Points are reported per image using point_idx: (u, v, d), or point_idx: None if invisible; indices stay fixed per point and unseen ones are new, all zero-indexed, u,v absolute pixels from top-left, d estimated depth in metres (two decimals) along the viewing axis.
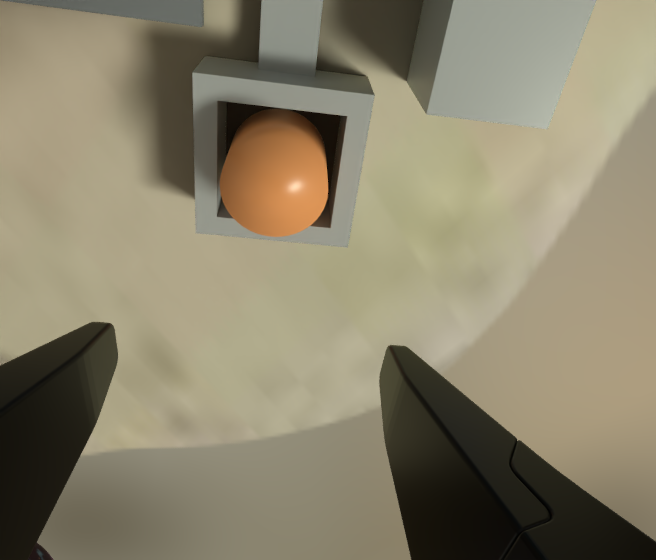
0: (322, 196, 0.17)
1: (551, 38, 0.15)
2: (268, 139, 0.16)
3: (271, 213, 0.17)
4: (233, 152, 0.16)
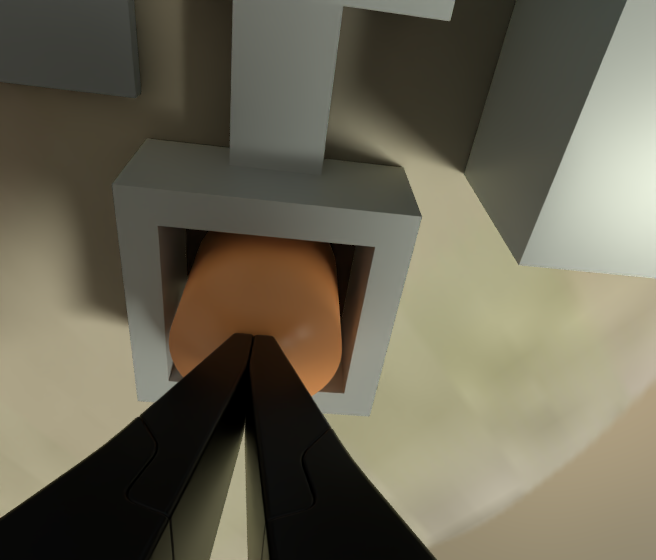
0: (332, 358, 0.11)
1: None
2: (245, 285, 0.10)
3: None
4: (188, 302, 0.10)
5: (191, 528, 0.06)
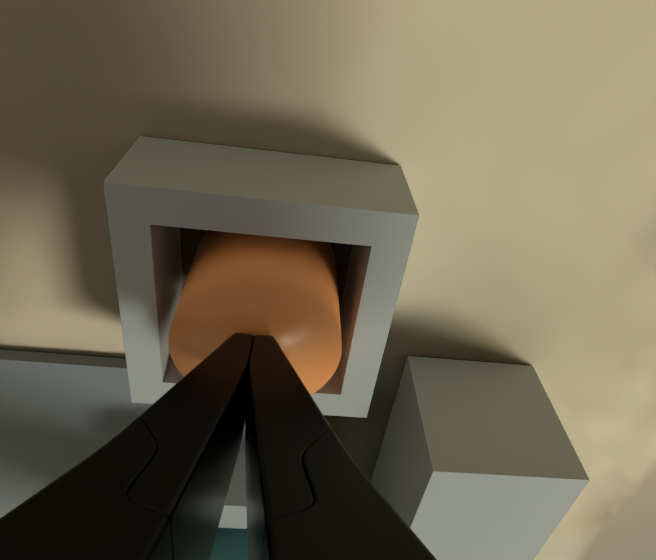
0: None
1: None
2: None
3: None
4: None
5: (191, 528, 0.06)
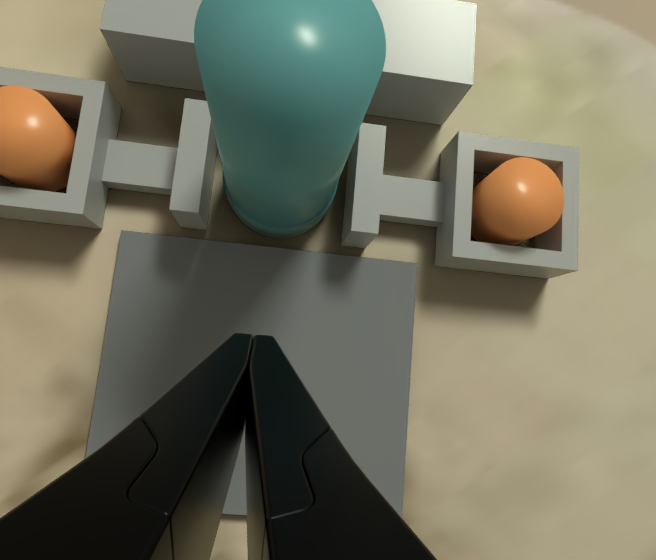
0: (528, 161, 0.23)
1: (420, 12, 0.23)
2: (490, 197, 0.23)
3: (545, 198, 0.23)
4: (501, 222, 0.23)
5: (191, 528, 0.06)
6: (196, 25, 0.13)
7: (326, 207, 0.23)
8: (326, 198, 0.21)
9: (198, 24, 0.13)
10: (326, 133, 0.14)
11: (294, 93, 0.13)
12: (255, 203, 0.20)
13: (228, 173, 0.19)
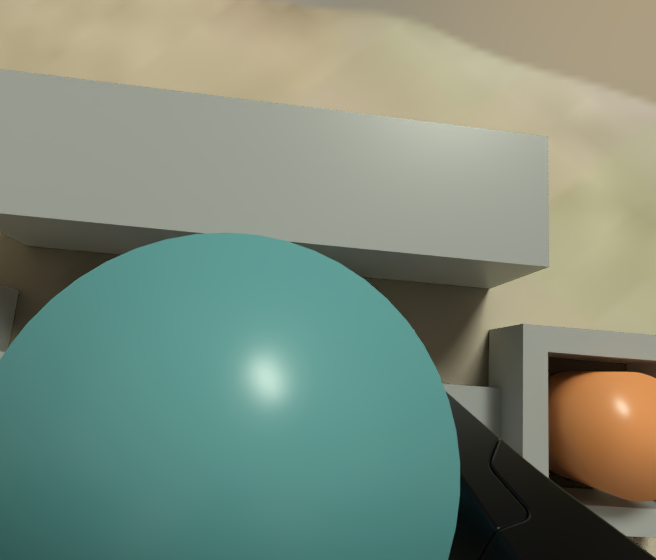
0: (635, 378, 0.15)
1: (463, 154, 0.15)
2: (581, 442, 0.14)
3: None
4: (599, 483, 0.14)
5: None
6: None
7: None
8: None
9: None
10: None
11: None
12: None
13: None
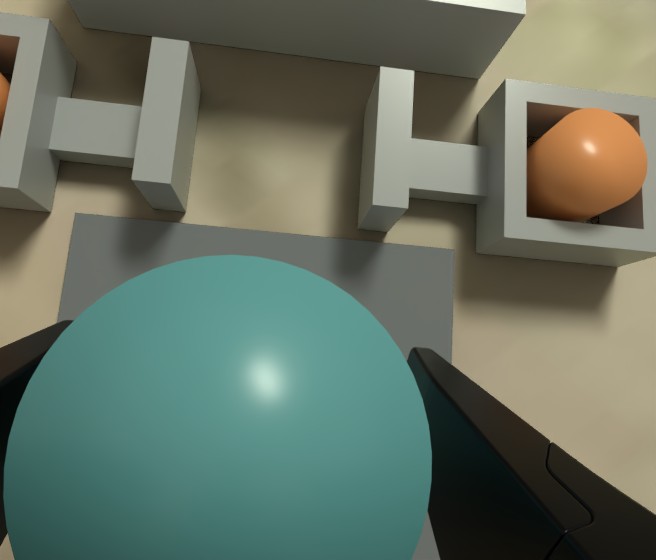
0: (599, 113, 0.18)
1: None
2: (552, 159, 0.17)
3: (622, 160, 0.18)
4: (567, 191, 0.17)
5: None
6: (10, 451, 0.06)
7: None
8: None
9: (15, 449, 0.06)
10: None
11: None
12: None
13: None
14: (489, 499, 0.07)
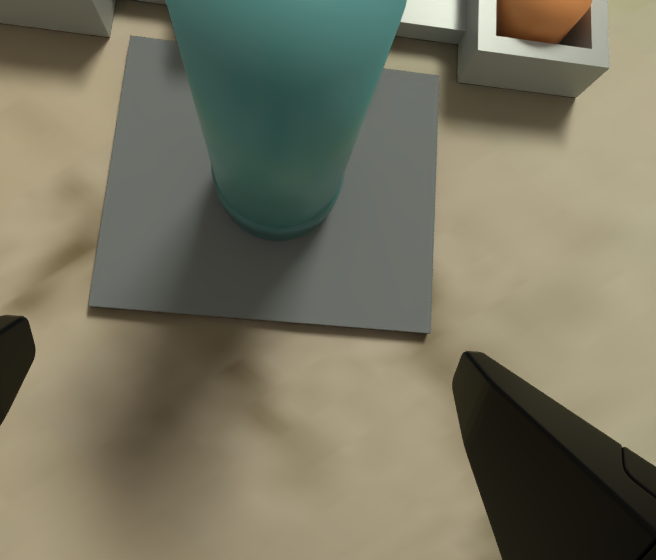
0: None
1: None
2: None
3: None
4: (528, 9, 0.21)
5: None
6: None
7: (331, 203, 0.20)
8: (331, 190, 0.18)
9: None
10: (333, 90, 0.10)
11: (291, 36, 0.10)
12: (248, 196, 0.17)
13: (215, 159, 0.16)
14: (565, 503, 0.07)
